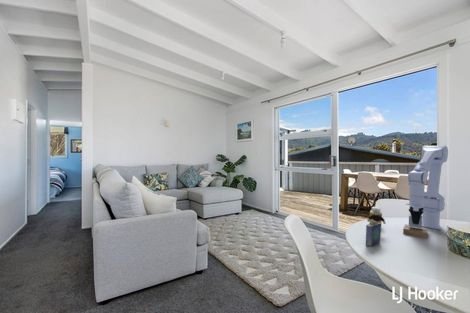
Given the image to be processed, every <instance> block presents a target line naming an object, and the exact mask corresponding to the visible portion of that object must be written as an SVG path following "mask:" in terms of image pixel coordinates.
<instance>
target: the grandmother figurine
mask: <svg viewBox="0 0 470 313" xmlns="http://www.w3.org/2000/svg"><path fill="white" fill-rule="evenodd" d="M380 212H382V211H381V209H380V210H379V209H378V208H374V209H373V213H374V215H371V216H370V215H369V217H368V218H367V222H368V223H370V220H371V219H373V220H374V221H375V222H379V223H380V220H381V221H382V223H383V225H385V224H386V220H385V219H384V218H383V216H382V217H381V216H379V213H380Z"/></svg>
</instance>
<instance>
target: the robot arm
mask: <svg viewBox="0 0 470 313" xmlns="http://www.w3.org/2000/svg"><path fill="white" fill-rule="evenodd" d="M421 155H422V159H421V160H420V161H418V162H417V163H416V165H415V166H414V168H413V170H411V171H409V172H408V174H407V180H408V186H409V199H408V200H409V201H408V202H406V205H408V206H409V208H408V211H409V214H411V217H412V222H413V224H417V225H418V224H419V221H420V217H421V216H422V227H423V228H428V229H433V230H441V229H442V228H441V224H440V220H441V212H443V211H444V210H445V206H446V203H445V196H443V195H442V194H441V193H439V189H440V182H441V176H442V175H441V174H442V167H443V164H444V163H447V161H448V156H449V149H448V146H447V145H445V144H444V145H423V146H422V148H421ZM425 184H427V185H425ZM425 186H426V189H425ZM425 190H426V191H425Z"/></svg>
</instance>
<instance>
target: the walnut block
mask: <svg viewBox="0 0 470 313" xmlns="http://www.w3.org/2000/svg"><path fill="white" fill-rule="evenodd" d="M428 229H429V228H427V227H422V228H417V227H412V226H409V224H404V226H403V229H402V230H403V232H402V234H403V235H408V236H413V237H417V238H423V239H428Z"/></svg>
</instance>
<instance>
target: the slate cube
mask: <svg viewBox="0 0 470 313" xmlns="http://www.w3.org/2000/svg"><path fill="white" fill-rule="evenodd" d="M408 214H409V215H408V225H409V226H412V227H417V228H422V215H421V217H420V221H419V224H418V225H417V224H413V222H412V217H411V214H410V213H408Z"/></svg>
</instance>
